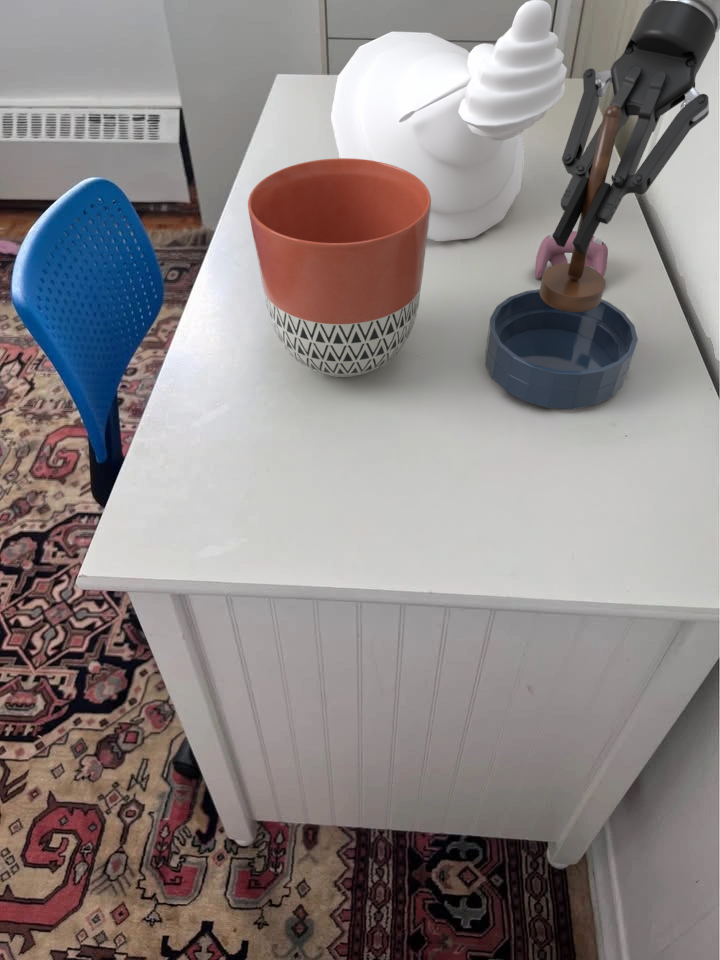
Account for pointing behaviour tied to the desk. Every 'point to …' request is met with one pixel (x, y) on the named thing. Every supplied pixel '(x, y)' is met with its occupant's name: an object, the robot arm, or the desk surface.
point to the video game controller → (556, 253)
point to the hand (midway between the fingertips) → (568, 244)
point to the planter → (341, 259)
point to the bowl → (558, 351)
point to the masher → (575, 281)
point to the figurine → (452, 114)
